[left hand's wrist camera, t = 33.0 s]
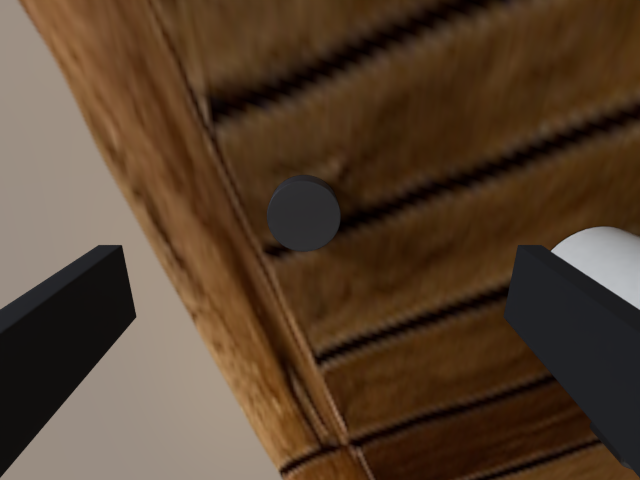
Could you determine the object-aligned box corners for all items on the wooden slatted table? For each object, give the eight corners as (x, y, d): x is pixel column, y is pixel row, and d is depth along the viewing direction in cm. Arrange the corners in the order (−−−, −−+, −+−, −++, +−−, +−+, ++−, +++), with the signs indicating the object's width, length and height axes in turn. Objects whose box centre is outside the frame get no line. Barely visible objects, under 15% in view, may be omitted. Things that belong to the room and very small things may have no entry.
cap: (351, 205, 23) (355, 214, 21) (307, 253, 24) (307, 265, 22) (300, 160, 22) (299, 165, 20) (256, 211, 23) (251, 220, 21)
